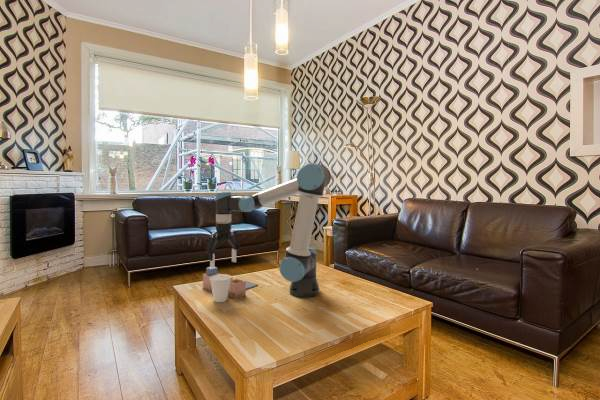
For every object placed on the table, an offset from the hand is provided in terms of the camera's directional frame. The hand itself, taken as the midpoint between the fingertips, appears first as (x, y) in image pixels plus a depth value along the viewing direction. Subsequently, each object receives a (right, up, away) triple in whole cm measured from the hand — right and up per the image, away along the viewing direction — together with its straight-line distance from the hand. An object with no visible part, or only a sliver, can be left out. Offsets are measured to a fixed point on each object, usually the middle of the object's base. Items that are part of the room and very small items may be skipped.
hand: (223, 264), depth 161 cm
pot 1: (-8, -13, +7) cm, 17 cm away
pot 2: (+7, -14, -5) cm, 17 cm away
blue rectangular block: (-8, -11, +6) cm, 15 cm away
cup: (+1, -15, -12) cm, 19 cm away
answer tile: (+9, -13, +9) cm, 19 cm away
